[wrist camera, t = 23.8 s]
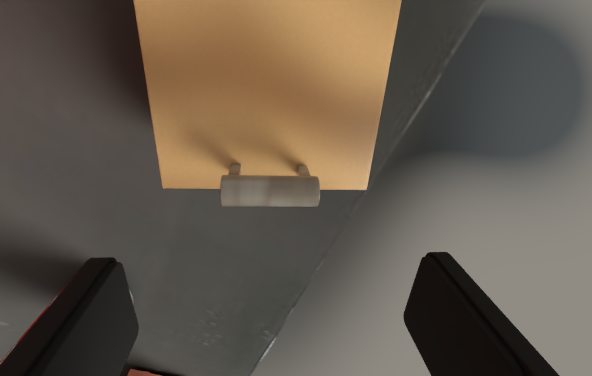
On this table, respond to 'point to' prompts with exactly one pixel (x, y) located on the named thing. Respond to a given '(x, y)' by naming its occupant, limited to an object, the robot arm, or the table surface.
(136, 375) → the teapot
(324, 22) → the lid
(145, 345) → the table surface
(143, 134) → the table surface
